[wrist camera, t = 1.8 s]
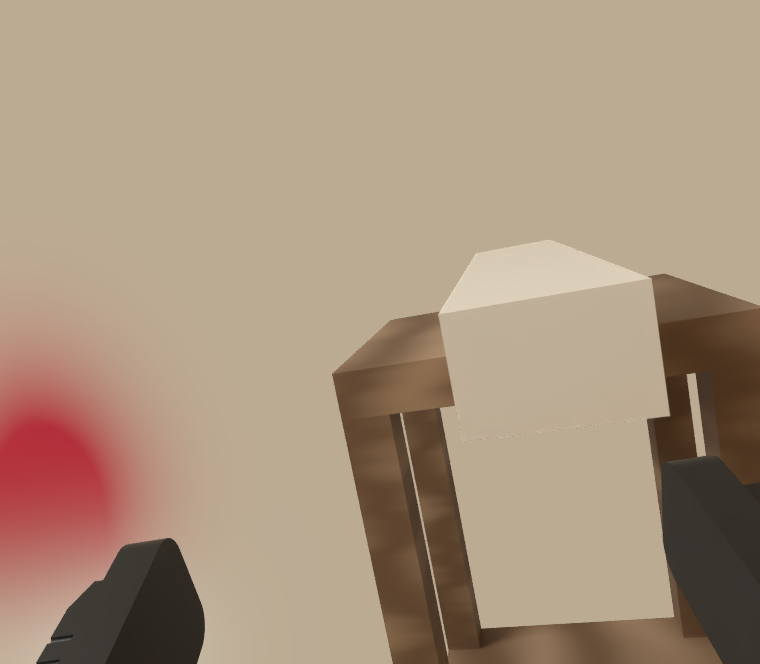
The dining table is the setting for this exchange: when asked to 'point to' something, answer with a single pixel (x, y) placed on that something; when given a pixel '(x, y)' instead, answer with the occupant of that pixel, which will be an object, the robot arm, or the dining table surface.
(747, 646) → the robot arm
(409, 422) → the walnut shelf
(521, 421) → the cutlery box
